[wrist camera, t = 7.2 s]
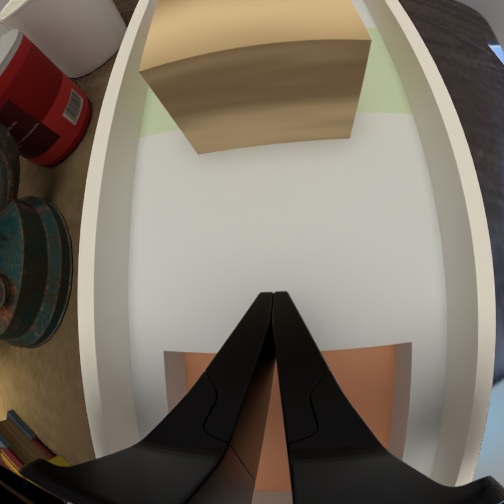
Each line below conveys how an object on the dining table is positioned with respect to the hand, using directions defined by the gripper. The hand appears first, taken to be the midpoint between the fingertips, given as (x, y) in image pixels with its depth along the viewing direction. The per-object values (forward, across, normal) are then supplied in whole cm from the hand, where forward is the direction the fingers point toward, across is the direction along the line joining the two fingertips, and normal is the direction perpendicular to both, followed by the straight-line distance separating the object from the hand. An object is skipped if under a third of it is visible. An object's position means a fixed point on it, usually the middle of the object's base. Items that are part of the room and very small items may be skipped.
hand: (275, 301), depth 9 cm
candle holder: (+24, +18, -13) cm, 32 cm away
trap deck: (+10, 0, 0) cm, 10 cm away
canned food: (+16, +19, -5) cm, 25 cm away
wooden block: (+13, 0, -7) cm, 15 cm away
